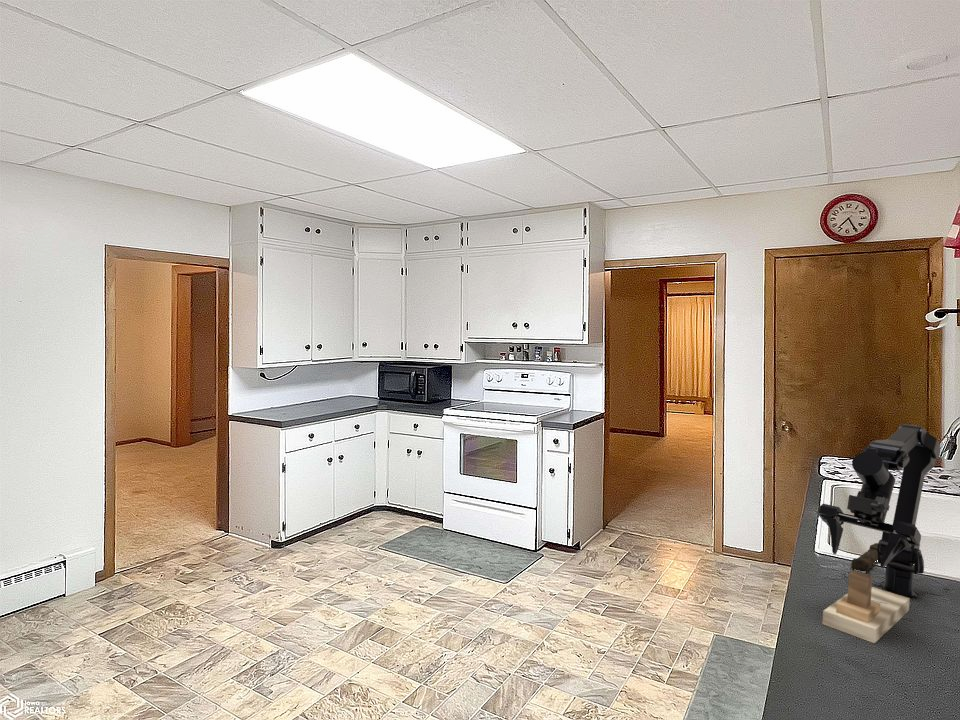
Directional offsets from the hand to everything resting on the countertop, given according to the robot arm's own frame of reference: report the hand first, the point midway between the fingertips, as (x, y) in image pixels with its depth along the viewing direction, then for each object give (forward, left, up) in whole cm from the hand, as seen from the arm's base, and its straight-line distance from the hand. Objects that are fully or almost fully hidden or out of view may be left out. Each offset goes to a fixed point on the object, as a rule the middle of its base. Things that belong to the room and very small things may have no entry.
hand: (857, 560), depth 131 cm
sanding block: (-1, +1, -12) cm, 12 cm away
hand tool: (-45, +12, -15) cm, 49 cm away
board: (-7, +4, -15) cm, 17 cm away
